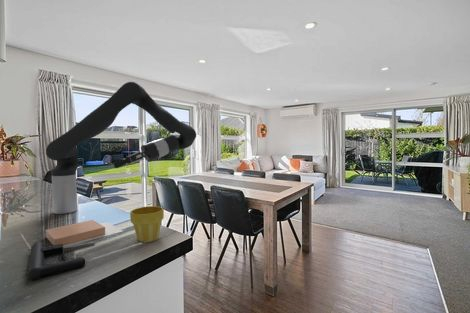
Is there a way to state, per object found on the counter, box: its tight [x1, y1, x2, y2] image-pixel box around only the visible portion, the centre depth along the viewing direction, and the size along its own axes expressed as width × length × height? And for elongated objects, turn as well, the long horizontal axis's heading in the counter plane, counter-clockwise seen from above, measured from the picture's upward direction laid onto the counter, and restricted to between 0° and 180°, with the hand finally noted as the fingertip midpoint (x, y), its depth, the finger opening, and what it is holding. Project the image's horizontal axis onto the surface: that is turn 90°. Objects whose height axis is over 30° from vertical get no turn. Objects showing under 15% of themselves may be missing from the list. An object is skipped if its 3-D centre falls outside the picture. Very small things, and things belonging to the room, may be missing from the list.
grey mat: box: [63, 221, 123, 246], centre depth 82 cm, size 15×18×1 cm
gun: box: [22, 240, 96, 281], centre depth 66 cm, size 3×20×16 cm
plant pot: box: [129, 205, 165, 243], centre depth 79 cm, size 10×10×10 cm
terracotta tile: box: [45, 219, 105, 246], centre depth 80 cm, size 12×2×14 cm
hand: (114, 165), depth 91 cm, fingers closed
